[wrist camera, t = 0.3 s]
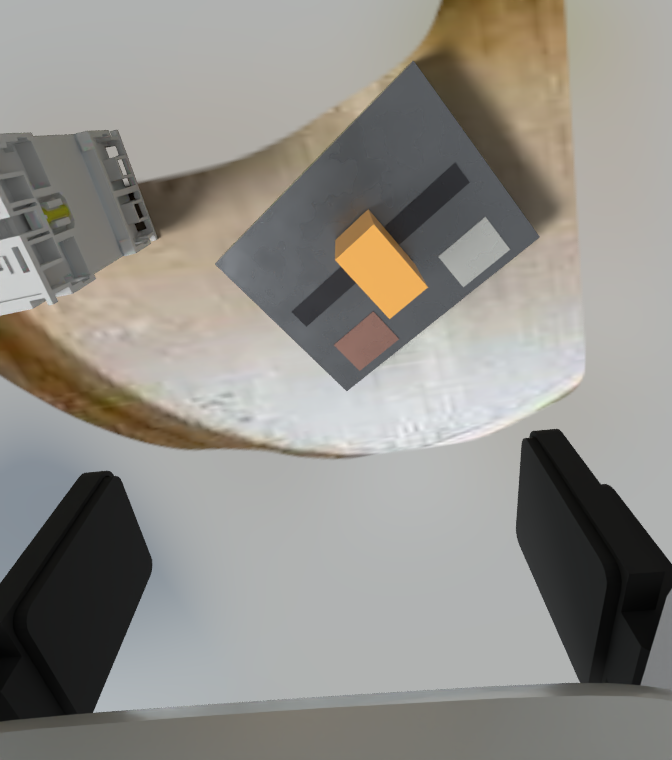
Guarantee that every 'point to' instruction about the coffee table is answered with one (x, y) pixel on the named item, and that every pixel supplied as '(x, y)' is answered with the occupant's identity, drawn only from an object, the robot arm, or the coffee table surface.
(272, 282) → the panel
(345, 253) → the block
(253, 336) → the coffee table surface
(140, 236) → the circuit breaker
